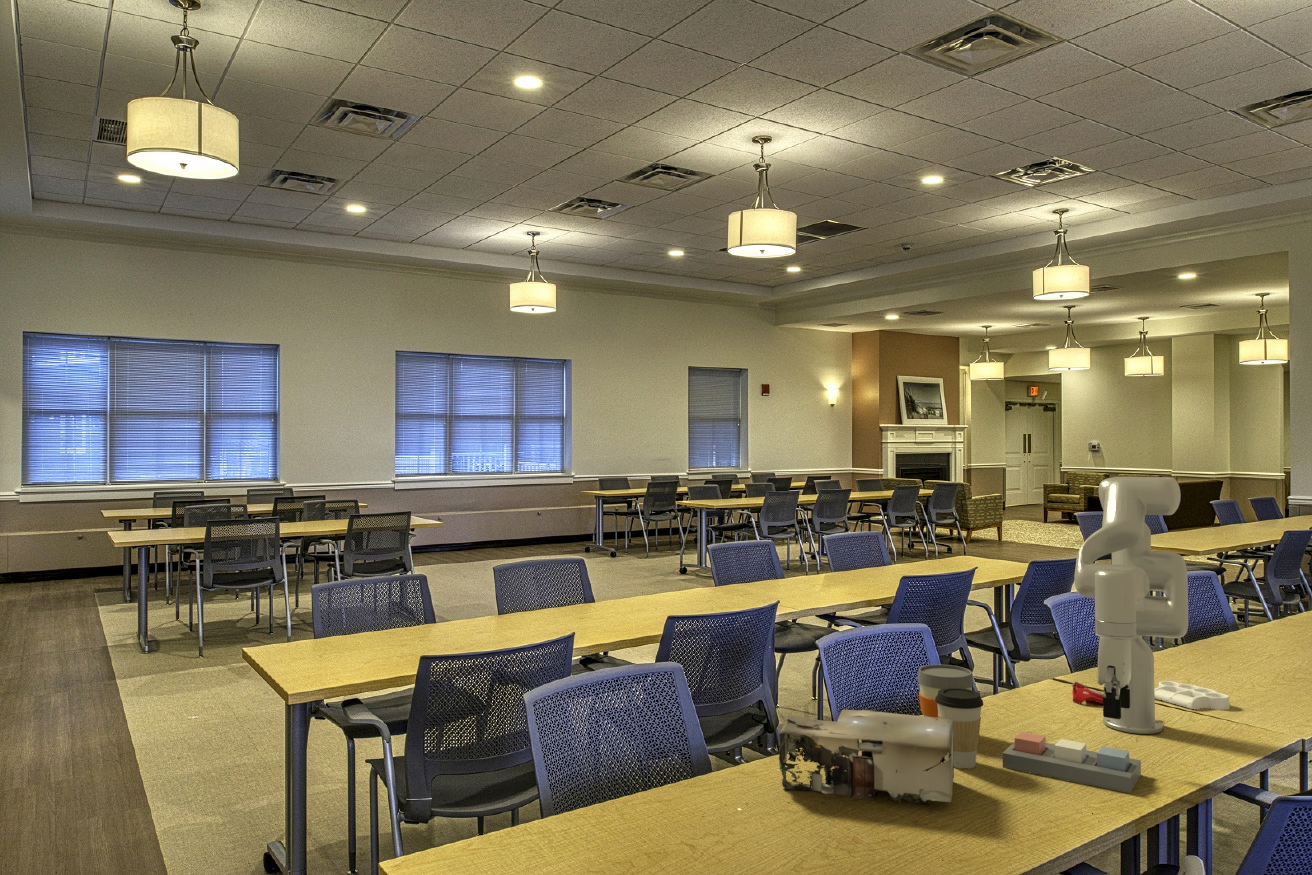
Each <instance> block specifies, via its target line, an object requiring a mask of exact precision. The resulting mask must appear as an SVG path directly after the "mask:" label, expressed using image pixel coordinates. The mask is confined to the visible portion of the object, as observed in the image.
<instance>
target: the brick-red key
mask: <svg viewBox="0 0 1312 875" xmlns="http://www.w3.org/2000/svg"><path fill="white" fill-rule="evenodd" d="M1046 741H1047V739H1046V735H1040V734H1035V733H1029V732H1024V731H1020V732H1019V733H1018V734H1017V735H1016V736H1015V737H1014V742H1015V751H1019V752H1025V753H1030V754H1035V755H1040V756H1042V755H1043V753H1044V752H1045V751H1046V743H1047V742H1046Z"/></svg>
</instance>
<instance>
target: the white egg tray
mask: <svg viewBox="0 0 1312 875" xmlns="http://www.w3.org/2000/svg"><path fill="white" fill-rule="evenodd" d="M1155 700H1158V701H1161V700H1162V702H1165V703H1169V704H1172V705H1175V704H1176V706H1180V707H1182V706H1183V708H1186V709H1190V710H1192V709H1194V710H1193V711H1196V710H1195V709H1197V710H1201V709H1210V708H1211V710H1217V711H1218V710H1219V711H1225V710H1229V709H1230V696H1229V695H1228V694H1225V693H1220V692H1218V691H1216V690H1215V689H1211V688H1207V687H1202V686H1198V685H1195V684H1189V683H1180V682H1178V681H1174V680H1162V681H1159V682H1158V687H1155ZM1200 708H1201V709H1200Z"/></svg>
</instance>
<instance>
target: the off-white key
mask: <svg viewBox="0 0 1312 875" xmlns="http://www.w3.org/2000/svg"><path fill="white" fill-rule="evenodd" d="M1086 750H1087V743H1086V742H1085V743H1084V742H1080V741H1074V740H1068V739H1063V738H1060V739H1059V740H1058V741H1056V743H1055V758H1056V759H1061V760H1066V761H1071V762H1077V763H1082V764H1083V763H1084V762H1085V761H1086Z"/></svg>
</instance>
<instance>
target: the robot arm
mask: <svg viewBox="0 0 1312 875" xmlns="http://www.w3.org/2000/svg"><path fill="white" fill-rule="evenodd" d="M1098 485H1099V486H1098V496H1099V501H1100V505H1101V508H1102V510H1103V512H1102V513H1103V515H1102V525H1101V528H1099V529H1098V530H1095V531H1094V532H1093V533H1092V534H1090V535H1089V536H1088V537H1087V538H1086V539H1085V540H1084V542H1082V544H1081V545H1080V547H1079V549H1078V552H1077V554H1076V560H1075V569H1074V581H1073V582H1074V587H1075V588H1074V589H1075V590H1076V592H1077V593H1078V594H1079V595H1080V596H1082V597H1084V598H1088V599H1094V608H1095V609H1094V613H1095V614H1094V619H1095V620H1094V621H1095V623H1094V624H1095V626H1094V627H1095V636H1097V637H1099V641H1098V654H1097V681H1096V682H1097V684H1098V685H1099V686H1102V685H1104V686H1103V693H1102V694H1103V704H1102V716H1103V719H1102V722H1103V724H1104V725H1105V726H1107V727H1108V728H1111V729H1113V730H1117V731H1119V732H1120V731H1121V732H1124V733H1130V734H1138V735H1139V734H1141V735H1143V734H1144V735H1145V734H1146V735H1148V734H1151V735H1152V734H1157V733H1161V732H1162V731H1163V729H1164V728H1163V727H1164V726H1163V723H1161V721H1159V720H1156V711H1155V710H1156V703H1155V702H1156V701H1155V700H1156V699H1155V688H1156V686H1155V656H1154V653H1153V651H1152V650H1153V649H1152V648H1151V647H1150V646H1149V644H1148V643H1147V642H1146V641H1145V640H1144V639H1143V637H1147V636H1148V637H1155V638H1158V637H1159V638H1165V639H1166V638H1167V639H1180V638H1183V637H1184V636H1186V634H1187V633H1188V628H1189V595H1188V594H1189V593H1188V592H1189V586H1188V585H1189V584H1188V567H1187V563H1186V561H1185V558H1184V557H1183V556H1182V555H1181V554H1179V553H1177V552H1175V551H1167V550H1165V551H1164V550H1152V532H1151V528H1150V527H1149V526H1148V524H1146V522H1145V519H1146V516H1147V515H1149V516H1151V515H1152V516H1157V515H1158V516H1172V515H1173V514H1175V513H1176V512H1177V510H1178V508H1179V506H1180V503H1181V497H1182V496H1181V489H1180V485H1179V482H1178V481H1177V480H1176V478H1173V477H1170V476H1168V477H1167V476H1161V477H1160V476H1113V477H1107V478H1105V479H1103V480H1101V481H1100V483H1099V484H1098ZM1109 554H1111V564H1109V563H1094V562H1095V561H1097V560H1098V559H1099V558H1102V557H1103V556H1106V555H1109ZM1150 591H1156V592H1163V593H1164V594H1165V595H1166V596H1160V595H1159V596H1156V595H1148V594H1149V592H1150Z"/></svg>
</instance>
